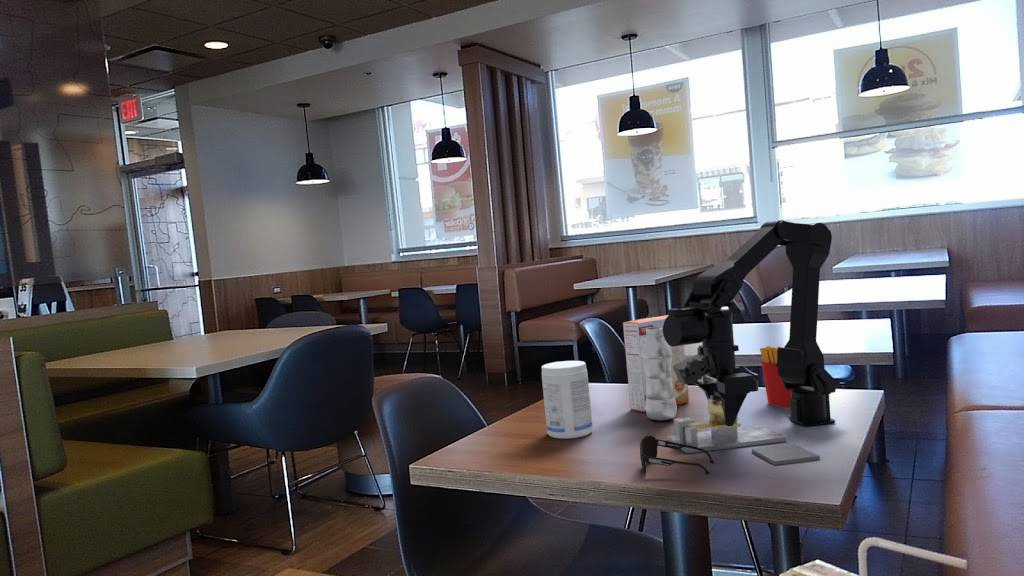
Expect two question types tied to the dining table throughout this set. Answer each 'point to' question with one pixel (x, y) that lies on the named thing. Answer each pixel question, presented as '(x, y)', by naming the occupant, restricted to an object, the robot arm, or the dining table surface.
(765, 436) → the lock base
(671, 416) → the plastic bottle
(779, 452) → the mat
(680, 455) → the dining table surface
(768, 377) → the french fries
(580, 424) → the supplement tub
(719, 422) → the gold rounded piece
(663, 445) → the sunglasses
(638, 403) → the cracker box
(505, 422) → the dining table surface
